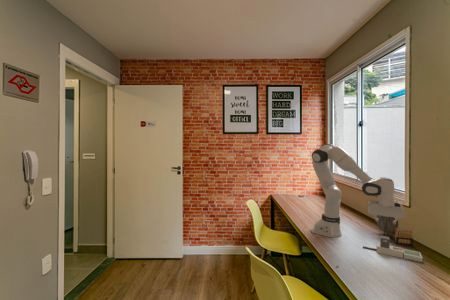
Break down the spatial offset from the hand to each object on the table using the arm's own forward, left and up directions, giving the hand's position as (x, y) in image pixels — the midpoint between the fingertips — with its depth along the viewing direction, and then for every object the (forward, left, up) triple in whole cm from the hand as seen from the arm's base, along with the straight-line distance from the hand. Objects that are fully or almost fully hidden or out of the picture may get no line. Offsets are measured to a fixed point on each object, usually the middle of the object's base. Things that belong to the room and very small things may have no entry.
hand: (385, 222), depth 154 cm
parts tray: (+14, +1, -20) cm, 25 cm away
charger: (0, 0, -19) cm, 19 cm away
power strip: (-2, 0, -20) cm, 20 cm away
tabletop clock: (+3, +34, -20) cm, 40 cm away
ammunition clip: (+12, +22, -20) cm, 32 cm away
